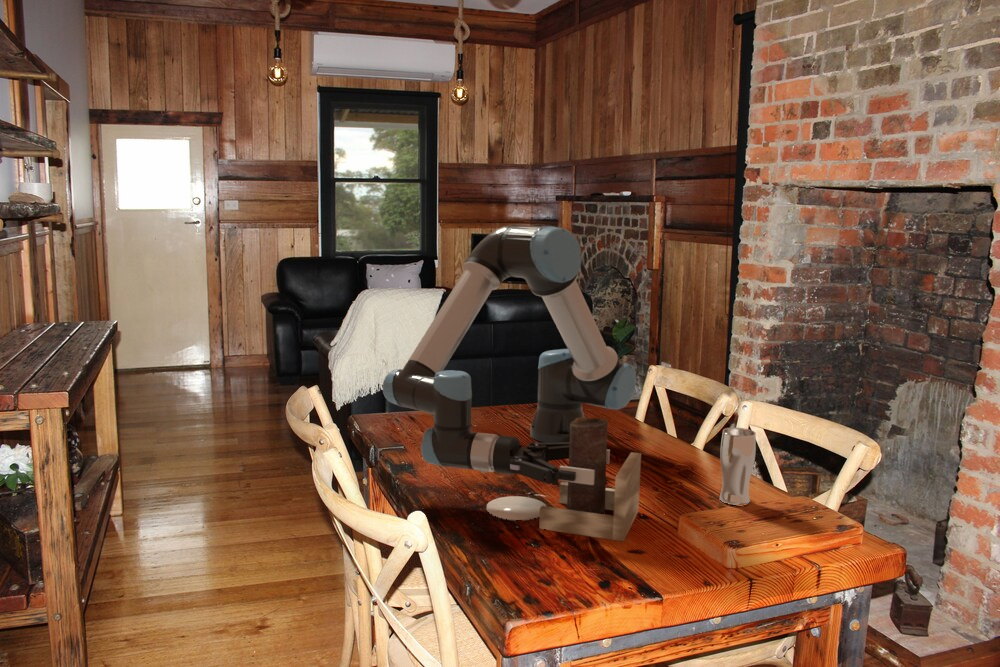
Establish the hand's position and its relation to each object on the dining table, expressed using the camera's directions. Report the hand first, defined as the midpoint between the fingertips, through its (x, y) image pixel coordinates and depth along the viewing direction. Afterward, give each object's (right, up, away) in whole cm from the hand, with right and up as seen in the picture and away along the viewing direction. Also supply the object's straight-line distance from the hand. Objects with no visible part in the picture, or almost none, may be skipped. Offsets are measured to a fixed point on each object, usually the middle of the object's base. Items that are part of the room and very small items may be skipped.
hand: (602, 466), depth 159 cm
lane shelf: (-3, -11, +3) cm, 11 cm away
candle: (-3, -11, +3) cm, 12 cm away
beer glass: (+29, -10, +14) cm, 34 cm away
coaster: (-16, -10, +7) cm, 20 cm away
